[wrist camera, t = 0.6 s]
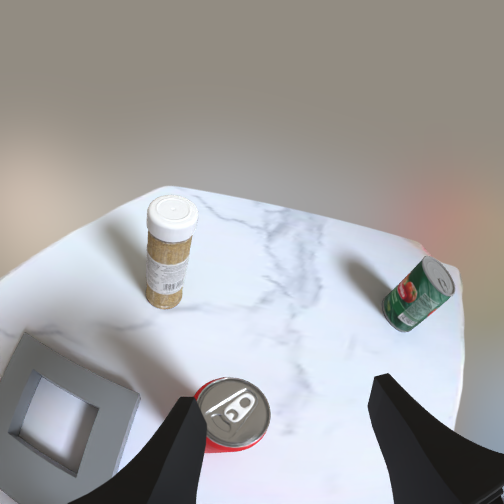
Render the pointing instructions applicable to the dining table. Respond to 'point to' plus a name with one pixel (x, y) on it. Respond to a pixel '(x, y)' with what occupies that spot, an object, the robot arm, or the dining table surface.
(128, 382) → the dining table surface
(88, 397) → the grey tray with recess
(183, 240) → the sprinkles bottle
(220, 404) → the red soda can
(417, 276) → the canned tomato
